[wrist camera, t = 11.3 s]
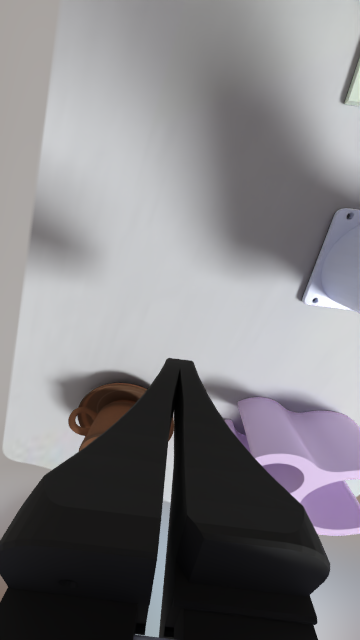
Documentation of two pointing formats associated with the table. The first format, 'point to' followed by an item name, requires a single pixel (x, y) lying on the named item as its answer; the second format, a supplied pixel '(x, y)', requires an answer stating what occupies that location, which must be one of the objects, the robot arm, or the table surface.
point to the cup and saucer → (105, 410)
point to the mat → (354, 88)
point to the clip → (307, 459)
